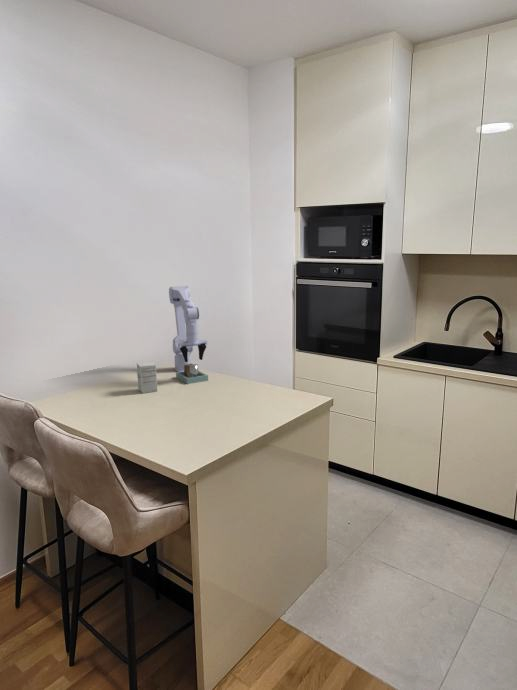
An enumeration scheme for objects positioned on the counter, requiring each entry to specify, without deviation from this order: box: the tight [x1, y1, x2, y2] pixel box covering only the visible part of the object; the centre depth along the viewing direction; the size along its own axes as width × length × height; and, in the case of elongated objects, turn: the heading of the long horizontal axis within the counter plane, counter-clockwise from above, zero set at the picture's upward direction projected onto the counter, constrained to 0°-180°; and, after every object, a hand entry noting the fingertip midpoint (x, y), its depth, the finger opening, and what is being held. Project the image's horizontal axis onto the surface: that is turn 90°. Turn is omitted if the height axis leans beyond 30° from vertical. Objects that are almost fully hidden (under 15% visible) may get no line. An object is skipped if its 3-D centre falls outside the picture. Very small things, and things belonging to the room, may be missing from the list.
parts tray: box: [175, 369, 209, 385], centre depth 233 cm, size 14×11×3 cm
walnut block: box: [184, 363, 193, 378], centre depth 235 cm, size 4×4×6 cm
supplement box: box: [136, 361, 158, 394], centre depth 215 cm, size 7×7×13 cm
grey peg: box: [190, 363, 199, 378], centre depth 230 cm, size 4×4×7 cm
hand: (193, 360), depth 229 cm, fingers open, 7 cm apart
